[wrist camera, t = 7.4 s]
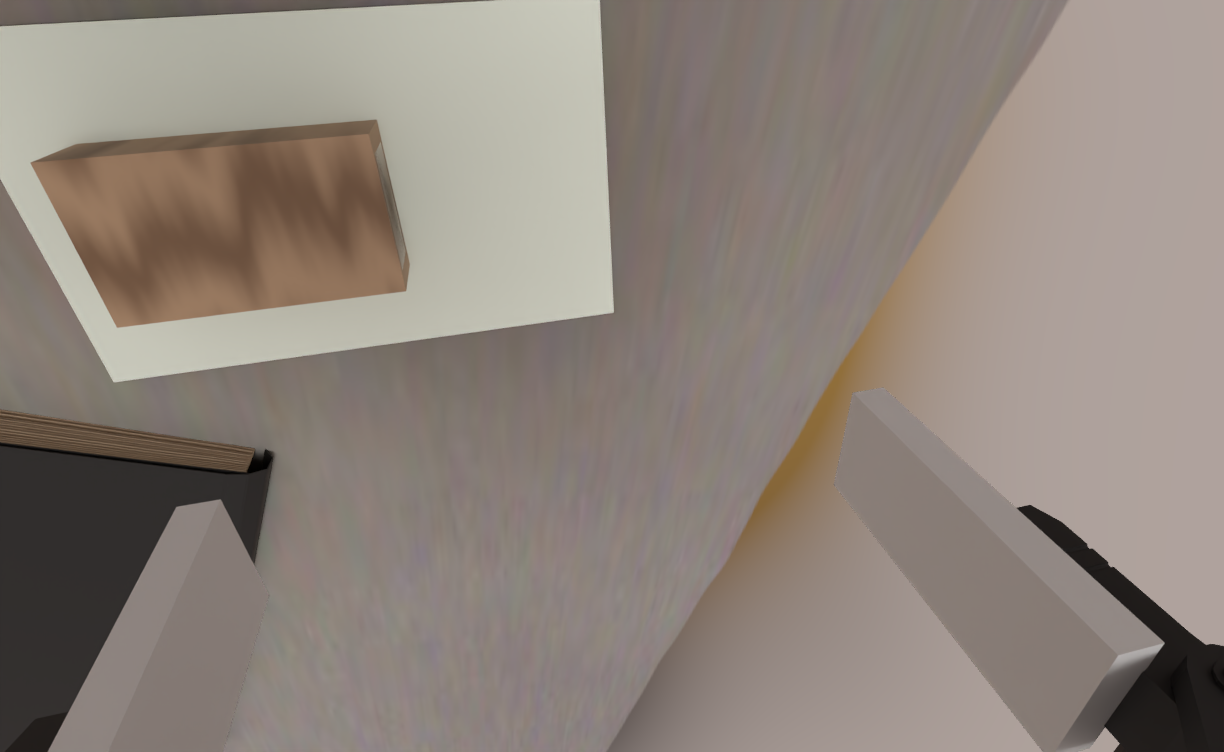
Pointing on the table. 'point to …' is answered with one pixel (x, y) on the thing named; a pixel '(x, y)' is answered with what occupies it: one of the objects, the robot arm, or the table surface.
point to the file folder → (91, 541)
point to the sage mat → (333, 93)
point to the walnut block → (230, 219)
